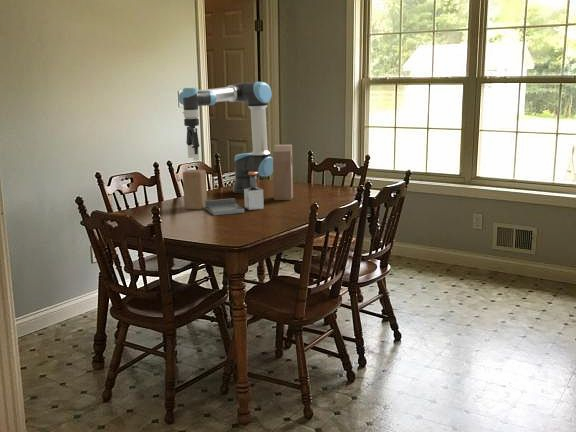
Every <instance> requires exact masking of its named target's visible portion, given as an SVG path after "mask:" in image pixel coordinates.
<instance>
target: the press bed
mask: <svg viewBox="0 0 576 432" xmlns="http://www.w3.org/2000/svg"><path fill="white" fill-rule="evenodd" d="M205 204H206V207H205V210H206V211H207V212H209V213H210V214H211V215H212V216H223V215H231V214H233V215H234V214H244V213H245V207H242V206H241V205H239V204H238V203H236V198H231V197H230V198H224V199H223V198H220V199H211V200H210V199H209V200H208V199H207V201H205Z"/></svg>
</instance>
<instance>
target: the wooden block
mask: <svg viewBox="0 0 576 432" xmlns="http://www.w3.org/2000/svg"><path fill="white" fill-rule="evenodd" d="M182 185H183V201H184V202H183V204H184V209H185V210H193V211H194V210H198V211H202V210H203V209H206V204H205V201H208V189H207V188H208V185H207V172H206V170H205V169H187V170H186V171H183V172H182Z"/></svg>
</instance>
